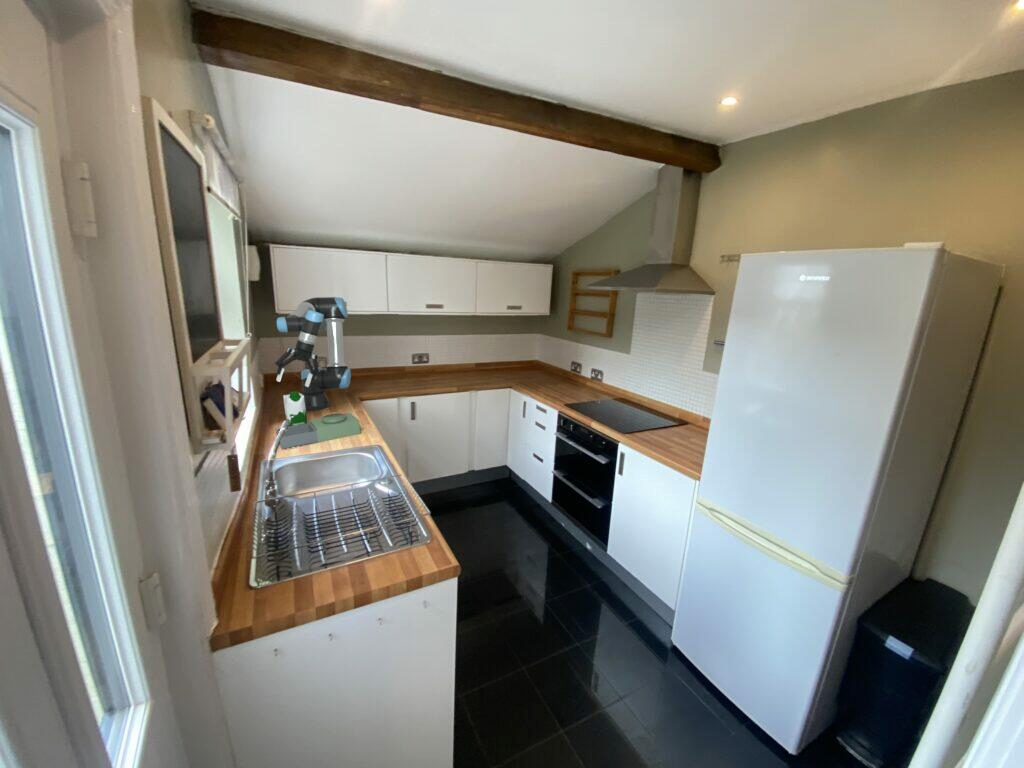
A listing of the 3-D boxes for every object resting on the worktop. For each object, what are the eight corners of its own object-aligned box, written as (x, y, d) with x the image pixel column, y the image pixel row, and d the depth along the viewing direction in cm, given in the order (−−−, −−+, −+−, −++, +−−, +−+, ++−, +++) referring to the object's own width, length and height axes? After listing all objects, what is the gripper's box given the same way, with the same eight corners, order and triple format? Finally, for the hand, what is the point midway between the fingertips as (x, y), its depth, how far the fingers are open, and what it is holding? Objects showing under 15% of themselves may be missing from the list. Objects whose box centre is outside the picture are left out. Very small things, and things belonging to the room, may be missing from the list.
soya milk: (290, 434, 196) (285, 394, 191) (286, 429, 203) (280, 391, 198) (310, 430, 202) (305, 391, 197) (304, 425, 208) (300, 388, 204)
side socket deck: (351, 425, 208) (349, 409, 206) (360, 433, 197) (358, 417, 195) (277, 440, 189) (274, 422, 187) (282, 450, 177) (279, 431, 175)
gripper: (282, 336, 182) (268, 381, 182) (334, 350, 202) (321, 390, 202) (276, 333, 187) (262, 376, 187) (327, 347, 206) (314, 386, 207)
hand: (292, 383), depth 195 cm, fingers open, 13 cm apart
